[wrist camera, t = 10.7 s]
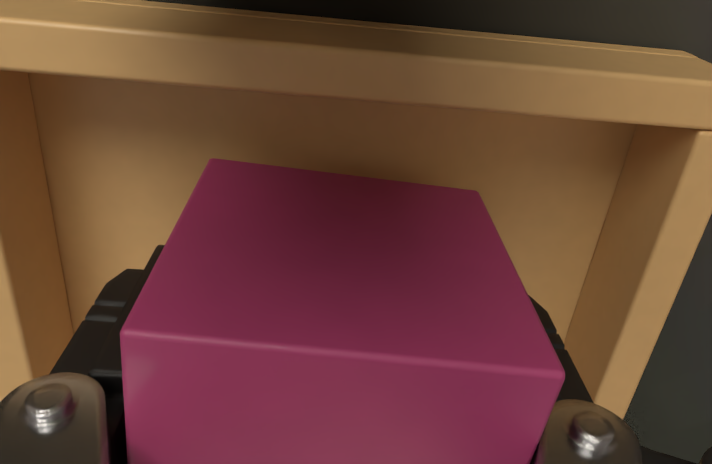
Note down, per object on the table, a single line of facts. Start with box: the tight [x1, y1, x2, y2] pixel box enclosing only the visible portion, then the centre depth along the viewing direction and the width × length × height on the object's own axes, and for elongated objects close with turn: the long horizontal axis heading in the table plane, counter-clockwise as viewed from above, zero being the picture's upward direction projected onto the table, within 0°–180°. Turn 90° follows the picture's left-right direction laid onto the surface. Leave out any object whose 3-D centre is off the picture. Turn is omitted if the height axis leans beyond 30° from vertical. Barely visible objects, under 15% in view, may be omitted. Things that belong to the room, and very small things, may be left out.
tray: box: [0, 0, 712, 420], centre depth 14 cm, size 19×13×3 cm
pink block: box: [120, 158, 565, 464], centre depth 10 cm, size 5×5×5 cm
